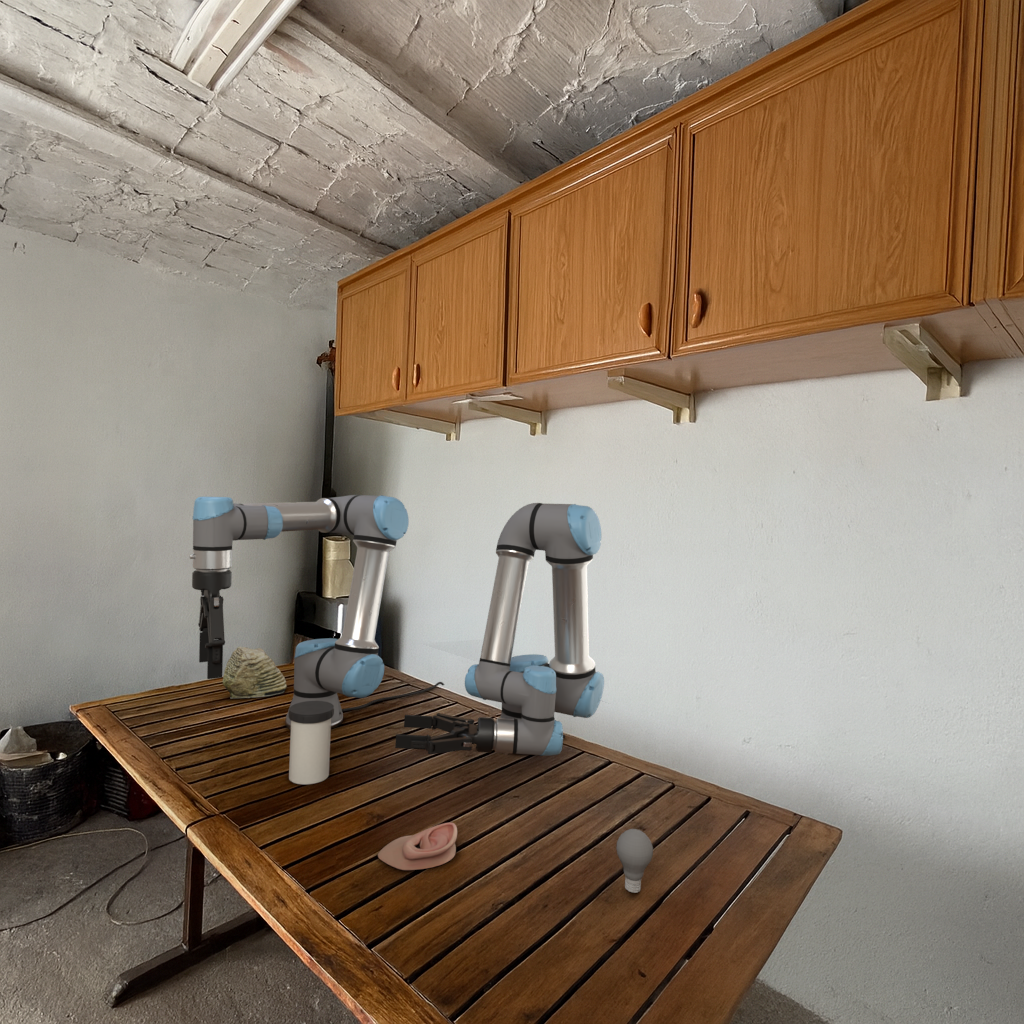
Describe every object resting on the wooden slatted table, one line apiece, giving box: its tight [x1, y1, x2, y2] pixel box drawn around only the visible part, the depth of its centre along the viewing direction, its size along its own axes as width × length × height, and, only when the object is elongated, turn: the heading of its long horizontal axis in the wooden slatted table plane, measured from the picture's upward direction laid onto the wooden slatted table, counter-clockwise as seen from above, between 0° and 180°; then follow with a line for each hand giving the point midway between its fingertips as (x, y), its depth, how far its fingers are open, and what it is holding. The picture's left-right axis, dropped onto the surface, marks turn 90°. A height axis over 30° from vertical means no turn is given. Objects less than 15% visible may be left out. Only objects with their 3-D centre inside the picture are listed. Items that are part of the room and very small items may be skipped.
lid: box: [288, 701, 334, 723], centre depth 143 cm, size 10×10×2 cm
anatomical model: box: [377, 822, 458, 871], centre depth 114 cm, size 13×4×12 cm
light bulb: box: [615, 828, 654, 894], centre depth 106 cm, size 6×6×10 cm
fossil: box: [222, 646, 288, 699], centre depth 198 cm, size 9×18×15 cm, turn 132°
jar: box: [288, 718, 332, 785], centre depth 143 cm, size 9×9×15 cm
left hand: (210, 669), depth 134 cm, fingers open, 13 cm apart
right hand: (400, 730), depth 143 cm, fingers open, 13 cm apart
